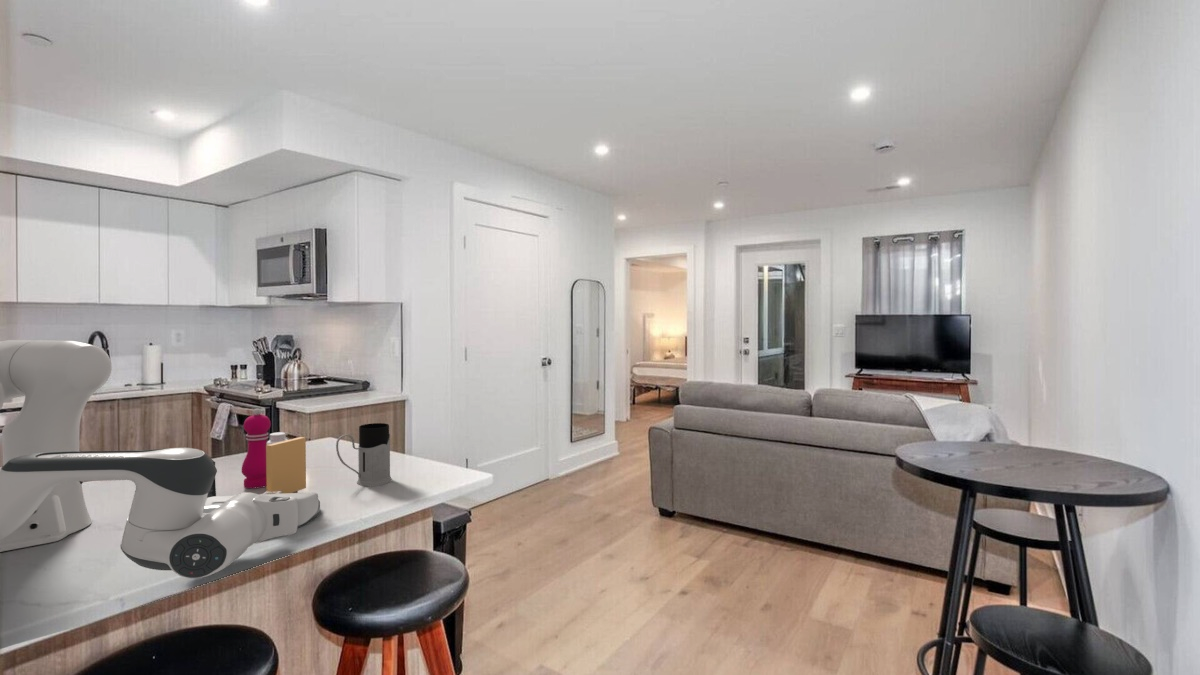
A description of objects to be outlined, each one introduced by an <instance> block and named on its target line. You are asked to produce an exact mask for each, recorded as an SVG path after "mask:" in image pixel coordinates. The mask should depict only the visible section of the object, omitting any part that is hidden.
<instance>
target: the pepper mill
mask: <svg viewBox="0 0 1200 675" xmlns="http://www.w3.org/2000/svg"><path fill="white" fill-rule="evenodd" d="M252 413H253V415H250V416H248V417H247V418H246V419H245V420H244V422H243V430H244V431H245V432H246V433H247V434H245V436H246V439H245V440H246V441H247V443H248V445H247V447H248V448H247V453H246V455H245V457H244V460H243V462H242V465H241V473H242V475H243V476H244V477H245V478H244V479H243V487H244V488H245V487H246V489H258V488H257V487H261V488H264V487H263V486H265V487H267V478H266V445H267V442H268V438H269V439H270V433H269V432H268V430H269V429H270V428H271V424H272V423H271V420H270V418H269V417H268V416H267V415H264V414H261V413H262V410H261V409H259V408H255V409H253V411H252ZM255 487H256V488H255Z"/></svg>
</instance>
